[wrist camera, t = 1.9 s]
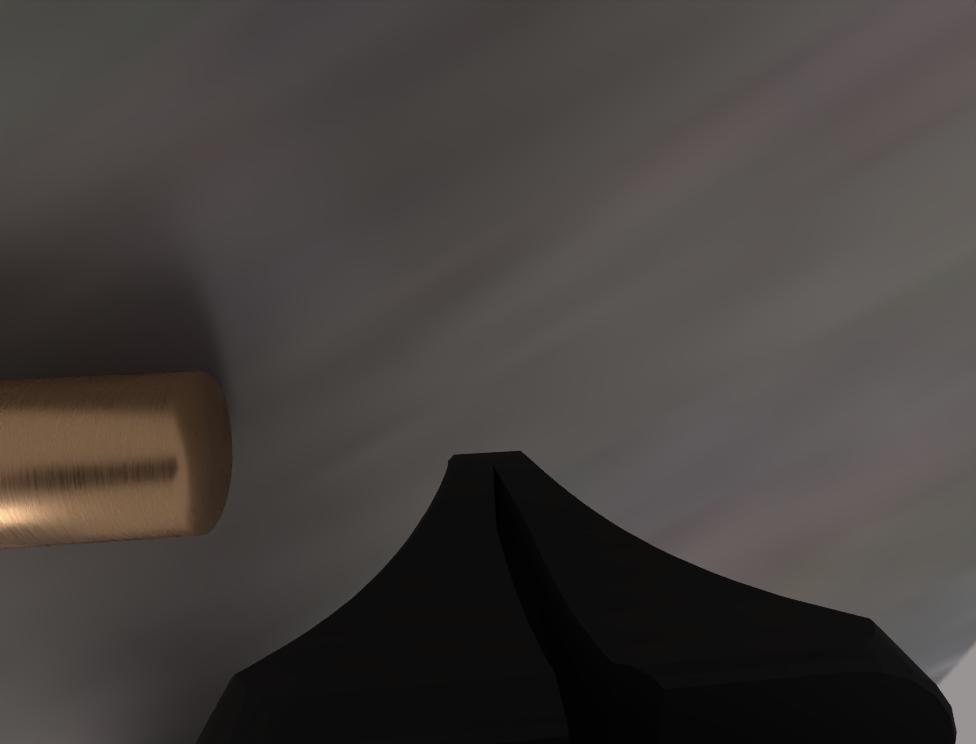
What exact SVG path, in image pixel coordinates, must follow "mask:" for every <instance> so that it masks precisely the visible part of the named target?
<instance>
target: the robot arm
mask: <svg viewBox="0 0 976 744" xmlns="http://www.w3.org/2000/svg"><path fill="white" fill-rule="evenodd" d="M955 742H956V727H955V722H954V717H953V713H952V708H951V706H950V704H949V703H948V701H947V700H946V698H945V697H944V695H943V694H942V692H941V691H940V689H939V688H938V687H937V685H936V684H935V683H934V682H933V681H932V680H931V679H930V678H929V677H928V676H927V675H926V674H925V673H924V672H923V671H922V670H921V669H920V668H919V667H918V666H917V665H916V664H915V663H914V662H913V661H912V660H911V659H910V658H909V657H908V656H907V655H906V654H905V653H904V652H903V651H902V650H901V649H900V648H899V647H898V646H897V645H896V644H895V643H894V642H893V641H892V640H891V639H890V638H889V637H888V636H887V635H886V634H885V633H884V632H883V631H882V630H881V629H880V628H879V627H878V626H877V625H876V624H875V623H874V622H873V621H872V620H871V619H869V618H865V617H861V616H857V615H853V614H849V613H845V612H841V611H837V610H833V609H829V608H825V607H821V606H817V605H813V604H809V603H805V602H801V601H797V600H794V599H790V598H786V597H783V596H779V595H776V594H773V593H770V592H767V591H764V590H761V589H758V588H755V587H752V586H749V585H746V584H743V583H739V582H736V581H734V580H731V579H728V578H726V577H723V576H720V575H718V574H715V573H712V572H710V571H707V570H705V569H703V568H700V567H698V566H696V565H693V564H691V563H689V562H686V561H684V560H682V559H679V558H677V557H675V556H673V555H670V554H668V553H666V552H664V551H662V550H660V549H658V548H656V547H654V546H652V545H650V544H649V543H647V542H645V541H643V540H641V539H639V538H638V537H636V536H634V535H632V534H630V533H628V532H627V531H625V530H623V529H621V528H620V527H618V526H617V525H615V524H613V523H612V522H610V521H609V520H607V519H606V518H604V517H603V516H601V515H600V514H598V513H597V512H595V511H594V510H592V509H591V508H589V507H588V506H587V505H585V504H584V503H583V502H581V501H580V500H578V499H577V498H576V497H574V496H573V495H572V494H571V493H569V492H568V491H567V490H566V489H564V488H563V487H562V486H561V485H559V484H558V483H557V482H556V481H555V480H553V479H552V478H551V477H550V476H549V475H547V474H546V473H545V472H544V471H543V470H542V469H541V468H539V467H538V466H537V465H536V464H535V463H534V462H533V461H532V460H530V459H529V458H528V457H527V456H526V455H525V454H524V453H522V452H521V451H510V452H492V453H475V454H458V455H454V456H453V457H452V458H451V459H450V460H449V461H448V467H447V470H446V473H445V476H444V478H443V481H442V483H441V485H440V488H439V489H438V491H437V493H436V495H435V497H434V499H433V501H432V503H431V504H430V506H429V508H428V510H427V511H426V513H425V515H424V516H423V518H422V519H421V521H420V522H419V524H418V525H417V527H416V528H415V530H414V531H413V533H412V534H411V535H410V537H409V538H408V539H407V541H406V542H405V543H404V545H403V546H402V547H401V548H400V550H399V551H398V552H397V553H396V555H395V556H394V557H393V558H392V559H391V560H390V561H389V563H388V564H387V565H386V566H385V567H384V568H383V569H382V570H381V571H380V572H379V573H378V574H377V575H376V576H375V577H374V578H373V579H372V580H371V581H370V582H369V583H368V584H367V585H366V586H365V587H364V588H363V589H362V590H361V591H360V592H359V593H358V594H357V595H355V596H354V597H353V598H352V599H351V600H349V601H348V602H347V603H346V604H344V605H343V606H342V607H341V608H339V609H338V610H337V611H335V612H334V613H333V614H332V615H330V616H329V617H327V618H326V619H325V620H323V621H322V622H320V623H319V624H318V625H316V626H315V627H313V628H312V629H311V630H309V631H308V632H306V633H305V634H303V635H301V636H300V637H298V638H297V639H295V640H294V641H292V642H290V643H289V644H287V645H285V646H284V647H282V648H280V649H279V650H277V651H275V652H273V653H272V654H270V655H268V656H267V657H265V658H263V659H262V660H260V661H258V662H257V663H255V664H253V665H251V666H250V667H248V668H246V669H244V670H242V671H240V672H239V673H237V674H235V675H234V676H233V677H232V679H231V680H230V682H229V684H228V686H227V687H226V689H225V691H224V693H223V695H222V696H221V698H220V700H219V702H218V704H217V706H216V707H215V709H214V711H213V713H212V714H211V716H210V718H209V720H208V722H207V724H206V725H205V727H204V729H203V731H202V733H201V735H200V737H199V739H198V740H197V742H196V744H955Z"/></svg>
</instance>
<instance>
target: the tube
mask: <svg viewBox="0 0 976 744" xmlns="http://www.w3.org/2000/svg"><path fill="white" fill-rule="evenodd" d="M231 470H232V435H231V426H230V419H229V414H228V409H227V405H226V402H225V399H224V396H223V393H222V391H221V389H220V387H219V385H218V383H217V382H216V380H215V379H214V378H213V377H212V376H211V375H210V374H208V373H207V372H204V371H192V372H170V373H147V374H125V375H102V376H80V377H57V378H35V379H12V380H0V549H7V548H21V547H36V546H50V545H65V544H80V543H94V542H109V541H124V540H138V539H153V538H167V537H182V536H197V535H204V534H207V533H208V532H210V531H211V530H212V529H213V528H214V527H215V525H216V524H217V522H218V521H219V519H220V517H221V514H222V512H223V509H224V506H225V503H226V500H227V496H228V491H229V486H230V479H231Z"/></svg>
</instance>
